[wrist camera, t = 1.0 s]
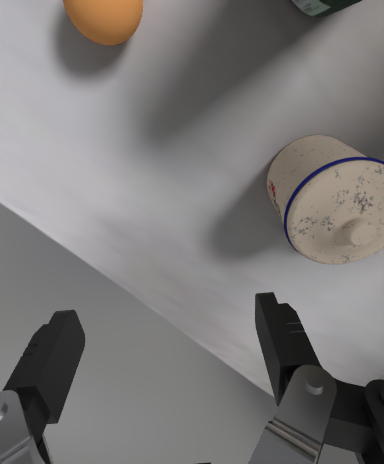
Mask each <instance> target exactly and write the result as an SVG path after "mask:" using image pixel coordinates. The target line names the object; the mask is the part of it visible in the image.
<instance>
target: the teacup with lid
mask: <svg viewBox="0 0 384 464" xmlns="http://www.w3.org/2000/svg"><path fill="white" fill-rule="evenodd" d="M267 191H268V194H269V197H270V199H271V201H272V203H273V205H274V207H275V209H276V211H277V213H278V215H279V217H280V219H281V221H282V222H283V224H284V229H285V234H286V237H287V239H288V241H289V242H290V244H291V245H292V247H293V248H294V249H295V250H296V251H297V252H299V253H300V254H301V255H303V256H305V257H306V258H308V259H310V260H313V261H315V262H319V263H324V264H345V263H350V262H354V261H357V260H360V259H363V258H365V257H367V256H369V255H371V254H373V253H378V252H379V251H381V250H382V249H383V248H384V162H383V161H380V160H377V159H374V158H369V157H367V156H365V155H364V154H362V153H360V152H358V151H357V150H355V149H353V148H352V147H350V146H348V145H346V144H345V143H343V142H341V141H340V140H338V139H336V138H333V137H330V136H326V135H311V136H306V137H303V138H300V139H298V140H296V141H294V142H292V143H291V144H289V145H288V146H286V147H285V148H284V149H283V150H282V151H281V152H280V153H279V154H278V155H277V156H276V158H275V159H274V161H273V162H272V164H271V166H270V169H269V172H268V176H267Z"/></svg>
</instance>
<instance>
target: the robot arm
mask: <svg viewBox="0 0 384 464" xmlns="http://www.w3.org/2000/svg"><path fill="white" fill-rule="evenodd" d="M255 324H256V330H257V335H258V338H259V342H260V346H261V349H262V353H263V356H264V360H265V364H266V367H267V371H268V375H269V378H270V382H271V386H272V389H273V393H274V396H275V400H276V404H277V406H279V407H278V409H277V411H276V414H275V416H274V418H273V420H272V421H269V422H268V423H267V425H266V427H265V428H264V430H263V433H262V435H261V437H260V439H259V441H258V444H257V446H256V448H255V450H254V452H253V454H252V456H251V459H250V461H249V463H248V464H318V462H319V459H320V455H321V452H322V449H323V445H324V443H325V444H328V445H332V446H335V447H339V448H342V449H346V450H350V451H353V452H355V454H356V457H357V460H358V462H359V464H384V380H380V379H378V380H373V381H371V382H369V383H368V384H367V385H366V387H363V386H358V385H354V384H349V383H345V382H342V381H339V380H337V379H335V378H333V377H332V376H331V375H330V374H329V373H328V372H327V371H326V370H324V369H323V368H322V366H321V365H320V363H319V361H318V358H317V356H316V354H315V352H314V350H313V348H312V345H311V343H310V341H309V339H308V337H307V334H306V332H305V331H304V328H303V326H302V324H301V321H300V319H299V317H298V315H297V312H296V311H295V310H294V309H293V308H292V307H291V306H290V305H289V304H288V303H283V304H278V302H277V300H276V297H275V295H274V293H273V292H269V293H258V294H256V295H255ZM84 346H85V334H84V331H83V329H82V326H81V324H80V321H79V319H78V316H77V313H76V312H75V310H65V311H56V312H55V313H54V314H53V316H52V318H51V320H50V322H49V324H44V325H43V326H42V327H41V328H40V329H39V330H38V331H37V332H36V333H35V334H34V335H33V337H32V338H31V340H30V342H29V344H28V347H27V348H26V349H25V351H24V353H23V356H22V357H21V358H20V360H19V362H18V364H17V366H16V367H15V369H14V371H13V373H12V375H11V376H10V378H9V380H8V382H7V384H6V386H5V387H4V389H3V391H1V392H0V464H54V463H53V460H52V457H51V454H50V451H49V448H48V445H47V442H46V439H45V436H44V434H43V432H44V429H45V427H46V424H55V423H58V421H59V418H60V415H61V412H62V410H63V407H64V404H65V401H66V398H67V395H68V392H69V390H70V387H71V384H72V381H73V378H74V375H75V372H76V369H77V367H78V364H79V361H80V358H81V355H82V353H83V350H84ZM199 464H211V463H199Z"/></svg>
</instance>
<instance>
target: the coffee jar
mask: <svg viewBox="0 0 384 464" xmlns="http://www.w3.org/2000/svg"><path fill="white" fill-rule="evenodd" d="M292 1H293V2H294V4H295V5H296V6H297V7H298V8H299V9H300V10H301V11H302V12H304V13H305V14H307V15H310V16H314V17H320V16H326V15H329V14H331V13H334V12H337V11H339V10H342V9H344V8H346V7H349V6H351V5H353V4H355V3H358V2H360V1H362V0H292Z"/></svg>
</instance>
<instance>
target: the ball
mask: <svg viewBox="0 0 384 464" xmlns="http://www.w3.org/2000/svg"><path fill="white" fill-rule="evenodd" d="M63 2H64V6H65V9H66V11H67V14H68V16H69V18H70V19H71V21H72V23H73V24H74V25H75V27H76V28H77V29H78V30H79V31H80V32H81V33H82V34H83V35H84V36H85V37H87V38H88V39H90V40H92V41H94V42H96V43H99V44H103V45H116V44H120V43H122V42H124V41H126V40H127V39H129V38H130V37H131V36H132V35H133V34H134V32H135V31H136V29H137V28H138V25H139V23H140V20H141V17H142V11H143V0H63Z"/></svg>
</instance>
